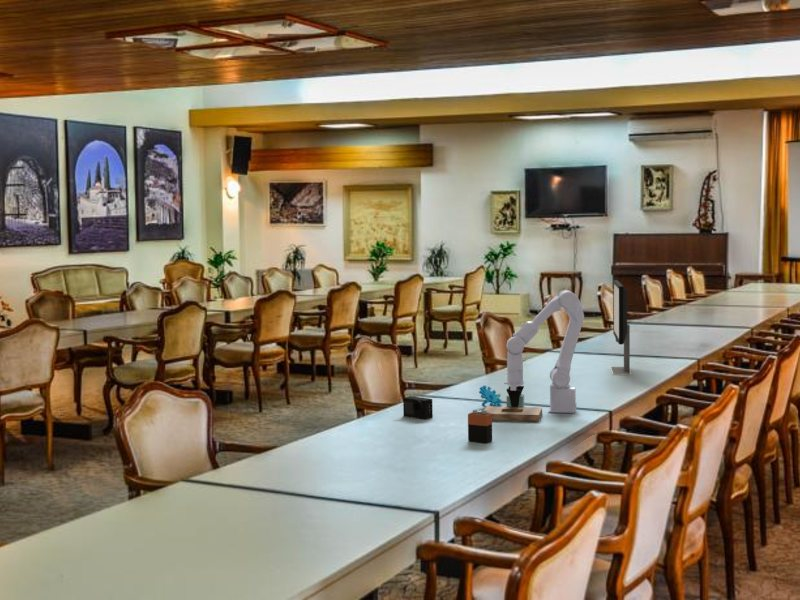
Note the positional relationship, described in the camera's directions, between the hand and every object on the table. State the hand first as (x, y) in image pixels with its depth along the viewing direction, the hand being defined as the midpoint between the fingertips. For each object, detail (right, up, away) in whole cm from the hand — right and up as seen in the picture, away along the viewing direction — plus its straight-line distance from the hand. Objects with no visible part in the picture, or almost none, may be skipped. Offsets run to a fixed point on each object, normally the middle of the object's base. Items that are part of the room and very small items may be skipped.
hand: (515, 406), depth 385 cm
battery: (-17, -6, -48) cm, 51 cm away
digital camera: (-36, -3, -7) cm, 37 cm away
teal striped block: (0, -2, 0) cm, 2 cm away
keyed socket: (-2, -3, -11) cm, 11 cm away
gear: (-8, -1, +12) cm, 15 cm away
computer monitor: (+57, +7, +91) cm, 108 cm away
